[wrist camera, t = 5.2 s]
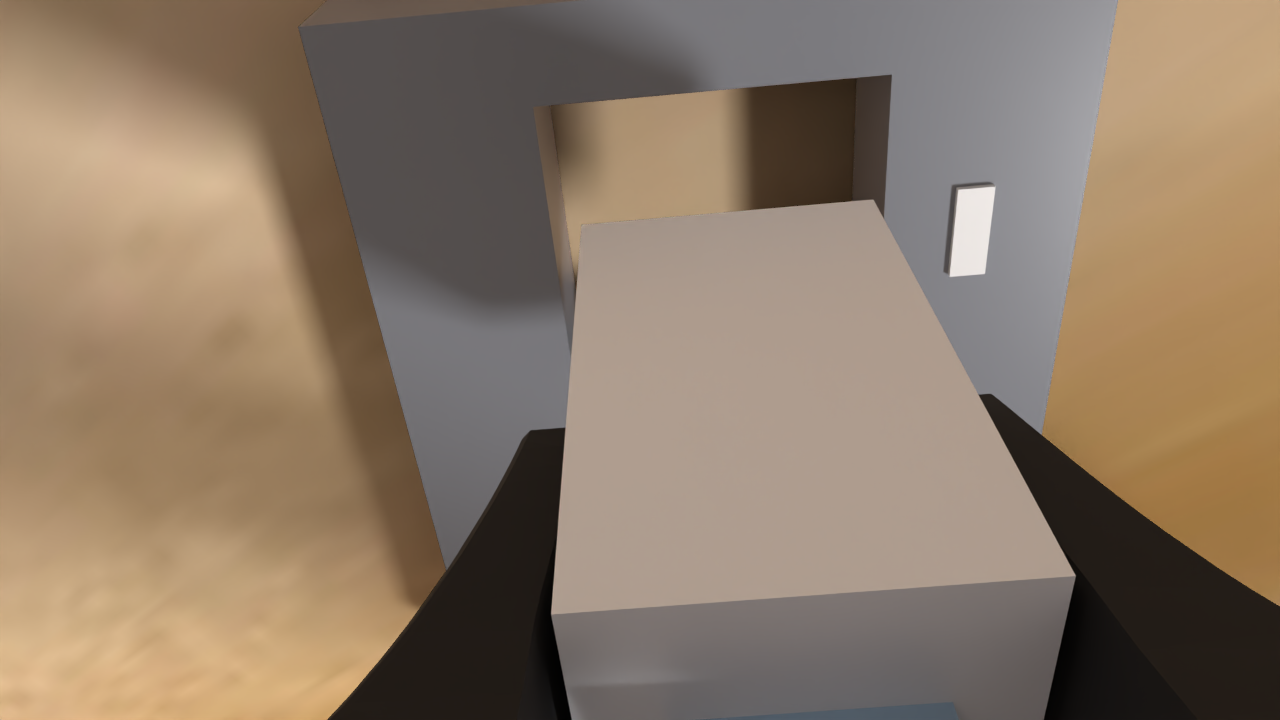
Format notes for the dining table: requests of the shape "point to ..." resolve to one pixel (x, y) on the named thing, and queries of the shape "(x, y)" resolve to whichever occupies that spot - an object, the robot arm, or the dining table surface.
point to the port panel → (674, 64)
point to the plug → (788, 487)
